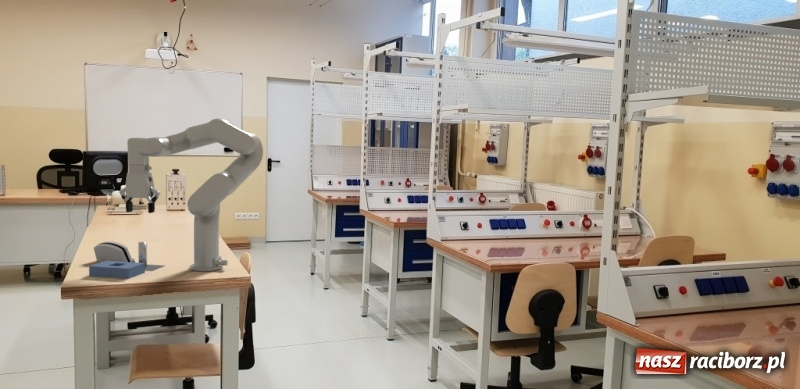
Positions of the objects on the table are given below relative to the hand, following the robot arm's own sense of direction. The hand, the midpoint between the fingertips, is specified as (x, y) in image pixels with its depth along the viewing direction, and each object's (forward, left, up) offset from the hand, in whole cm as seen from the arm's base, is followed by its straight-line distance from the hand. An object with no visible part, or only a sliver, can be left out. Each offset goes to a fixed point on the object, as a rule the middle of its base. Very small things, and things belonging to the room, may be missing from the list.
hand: (140, 212), depth 226 cm
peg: (-1, 0, -22) cm, 22 cm away
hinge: (+16, -5, -23) cm, 28 cm away
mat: (-1, 0, -22) cm, 22 cm away
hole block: (+1, +13, -22) cm, 26 cm away
